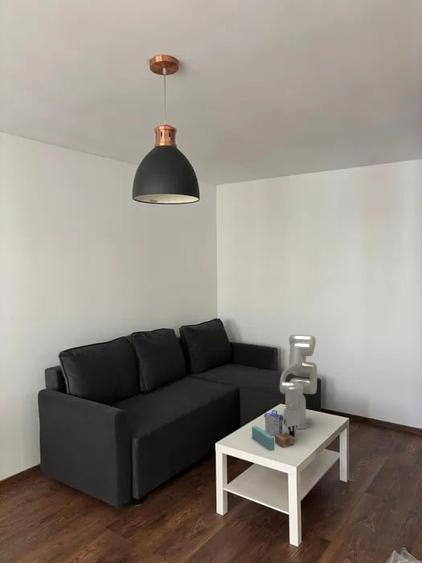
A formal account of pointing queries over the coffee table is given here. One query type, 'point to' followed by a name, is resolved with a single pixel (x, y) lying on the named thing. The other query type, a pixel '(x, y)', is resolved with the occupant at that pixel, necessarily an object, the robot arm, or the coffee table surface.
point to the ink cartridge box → (273, 423)
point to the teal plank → (263, 437)
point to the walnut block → (284, 440)
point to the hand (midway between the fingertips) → (292, 436)
